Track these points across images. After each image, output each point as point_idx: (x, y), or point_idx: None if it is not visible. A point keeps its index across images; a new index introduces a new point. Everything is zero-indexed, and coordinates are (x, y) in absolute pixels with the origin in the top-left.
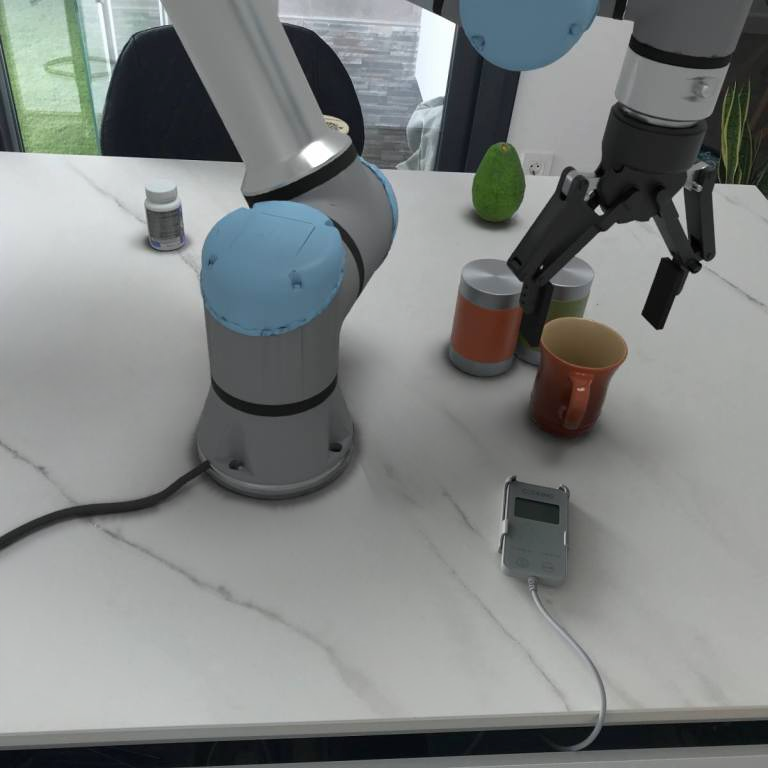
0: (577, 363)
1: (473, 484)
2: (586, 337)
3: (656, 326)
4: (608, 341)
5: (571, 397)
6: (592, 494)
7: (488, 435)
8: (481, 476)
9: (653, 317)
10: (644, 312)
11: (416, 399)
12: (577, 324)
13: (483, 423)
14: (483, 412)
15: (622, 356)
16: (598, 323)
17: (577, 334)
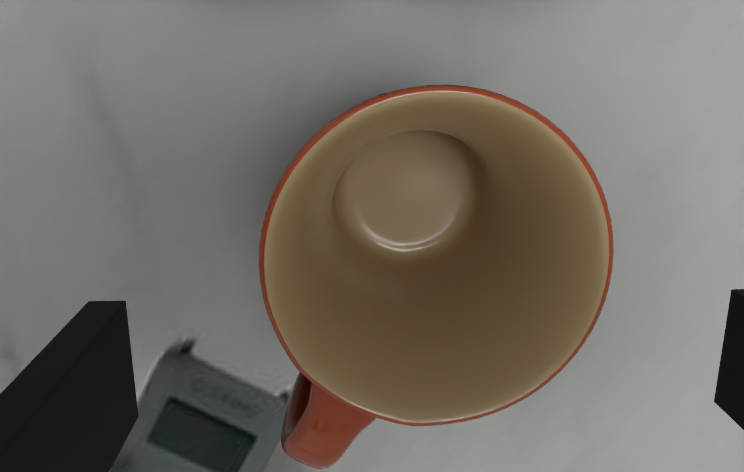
0: (477, 150)
1: None
2: (518, 152)
3: (723, 401)
4: (570, 229)
5: (283, 440)
6: None
7: (178, 198)
8: None
9: (741, 381)
10: (741, 314)
11: (11, 3)
12: (499, 118)
13: (180, 151)
14: (197, 107)
15: (542, 365)
16: (575, 164)
17: (490, 132)
